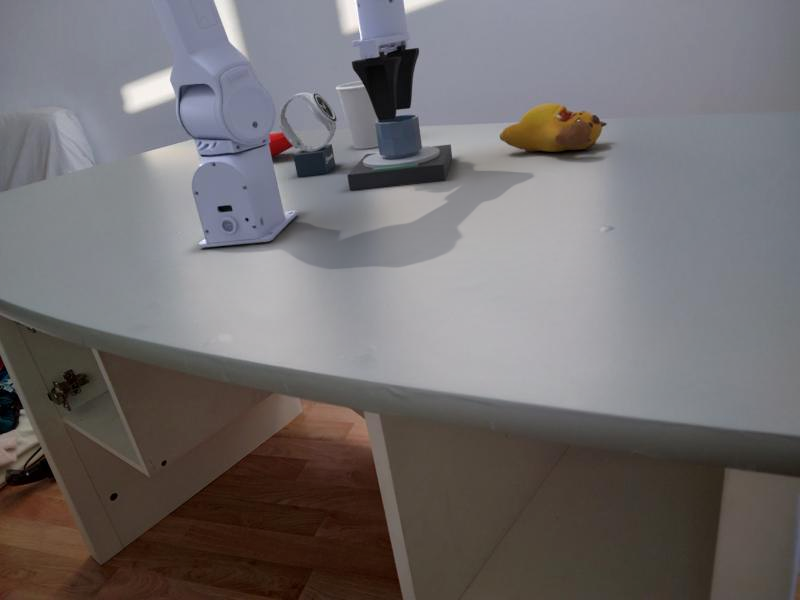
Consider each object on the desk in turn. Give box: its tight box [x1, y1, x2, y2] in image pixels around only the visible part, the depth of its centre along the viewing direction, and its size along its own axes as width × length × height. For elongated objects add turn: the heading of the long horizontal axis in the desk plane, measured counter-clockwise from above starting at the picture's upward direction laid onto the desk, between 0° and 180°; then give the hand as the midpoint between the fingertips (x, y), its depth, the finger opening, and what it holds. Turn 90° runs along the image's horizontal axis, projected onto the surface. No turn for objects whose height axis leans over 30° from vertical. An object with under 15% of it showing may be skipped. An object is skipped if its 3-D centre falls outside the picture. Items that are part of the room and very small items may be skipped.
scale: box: [346, 143, 453, 191], centre depth 84 cm, size 12×12×2 cm
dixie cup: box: [335, 80, 379, 150], centre depth 106 cm, size 8×8×10 cm
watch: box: [278, 91, 338, 178], centre depth 92 cm, size 6×8×11 cm
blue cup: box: [375, 113, 423, 159], centre depth 83 cm, size 6×6×5 cm
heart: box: [269, 131, 294, 159], centre depth 109 cm, size 12×4×10 cm
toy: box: [499, 102, 608, 153], centre depth 83 cm, size 11×6×15 cm
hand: (395, 113), depth 81 cm, fingers open, 7 cm apart
